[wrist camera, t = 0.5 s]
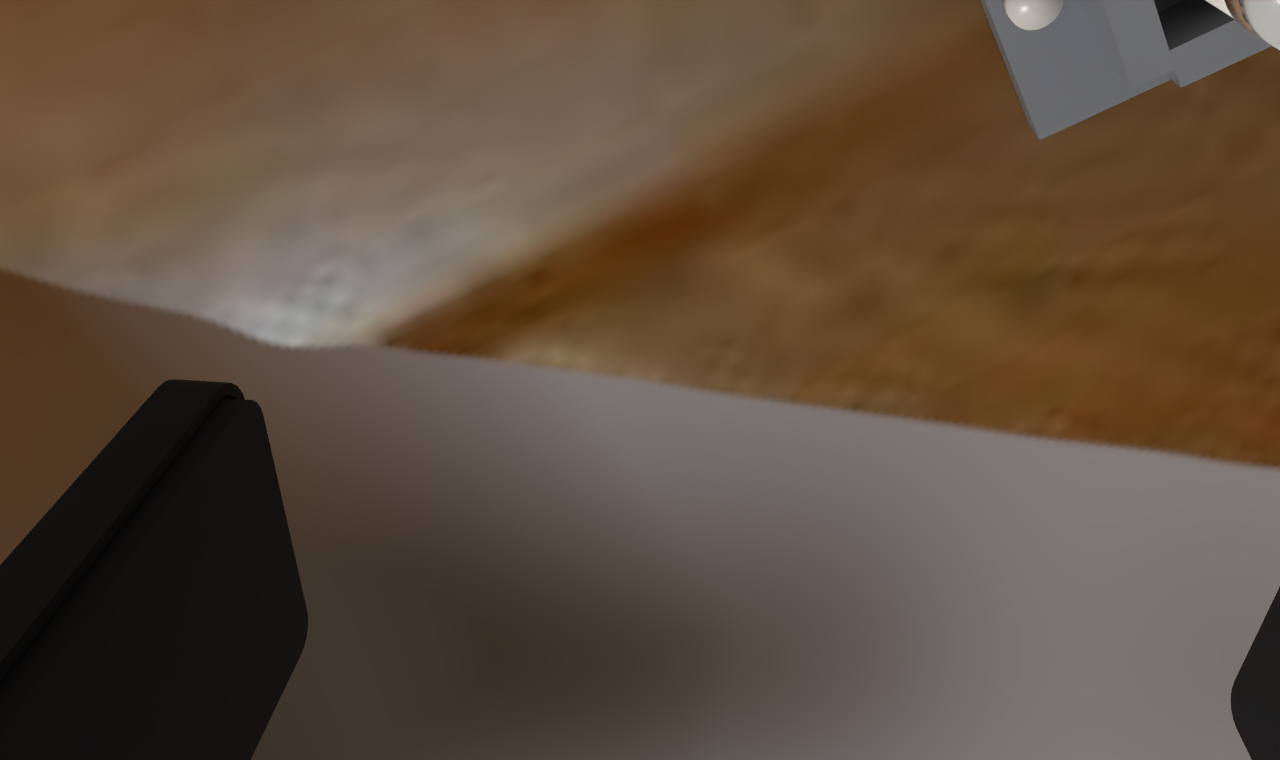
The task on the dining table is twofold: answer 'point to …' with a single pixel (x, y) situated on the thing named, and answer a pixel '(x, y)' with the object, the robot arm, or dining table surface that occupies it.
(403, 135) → the dining table surface
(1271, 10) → the cylinder
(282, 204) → the dining table surface
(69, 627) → the robot arm
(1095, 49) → the block
